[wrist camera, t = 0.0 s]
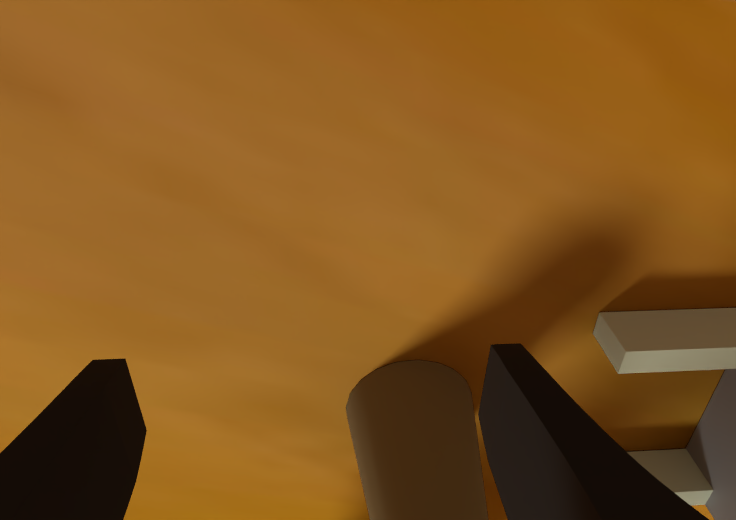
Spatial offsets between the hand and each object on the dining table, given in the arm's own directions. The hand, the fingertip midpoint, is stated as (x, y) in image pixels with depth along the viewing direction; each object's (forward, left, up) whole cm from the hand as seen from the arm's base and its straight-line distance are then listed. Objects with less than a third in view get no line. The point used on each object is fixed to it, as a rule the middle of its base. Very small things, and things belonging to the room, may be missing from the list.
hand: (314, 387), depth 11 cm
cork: (-12, -4, -10) cm, 16 cm away
